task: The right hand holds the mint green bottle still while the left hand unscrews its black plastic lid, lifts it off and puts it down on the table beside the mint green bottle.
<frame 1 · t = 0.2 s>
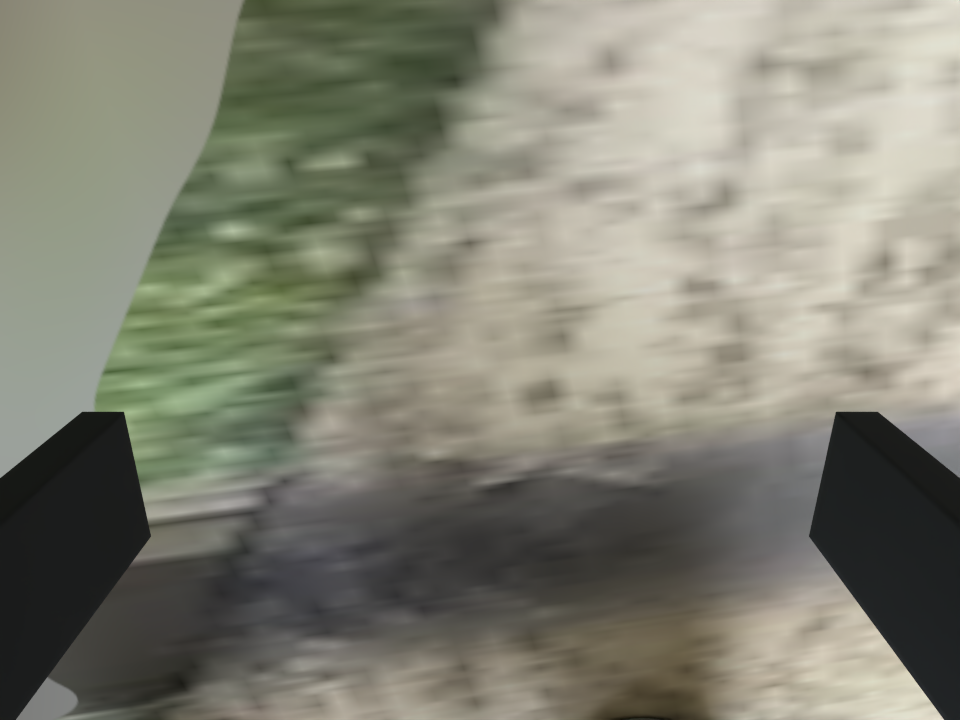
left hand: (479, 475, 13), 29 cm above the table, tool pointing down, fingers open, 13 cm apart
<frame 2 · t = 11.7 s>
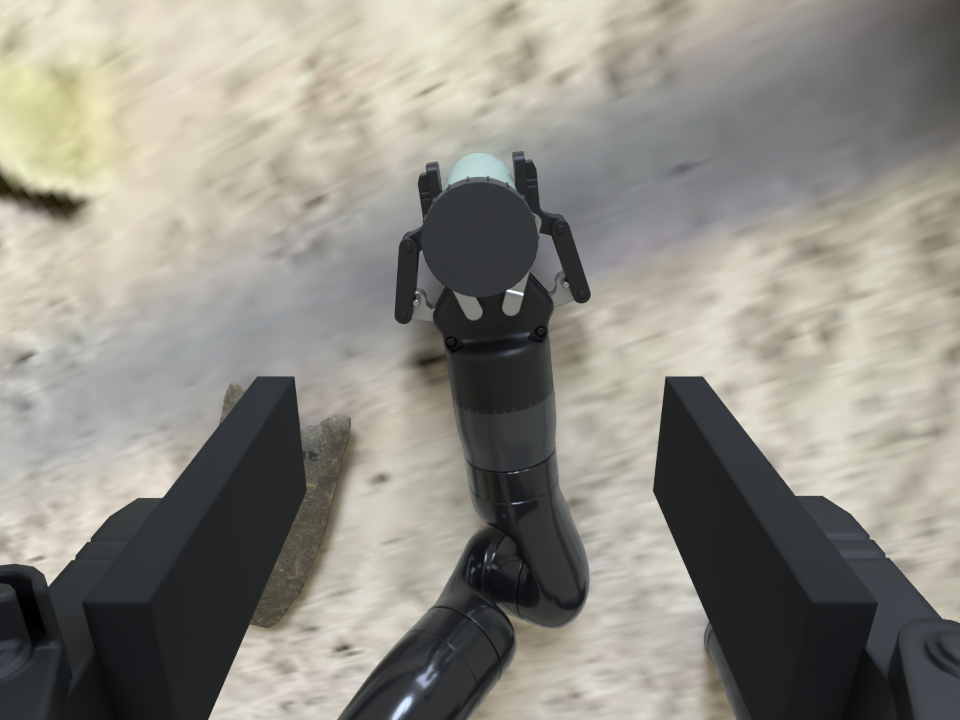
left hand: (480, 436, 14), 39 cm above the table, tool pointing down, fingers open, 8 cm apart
right hand: (474, 159, 44), fingers closed on mint green bottle, 5 cm apart
mint green bottle: (479, 187, 51), on the table, touching right hand
stone tool: (269, 510, 61), on the table
lid: (479, 239, 33), point 19 cm above the table, screwed on, not yet turned
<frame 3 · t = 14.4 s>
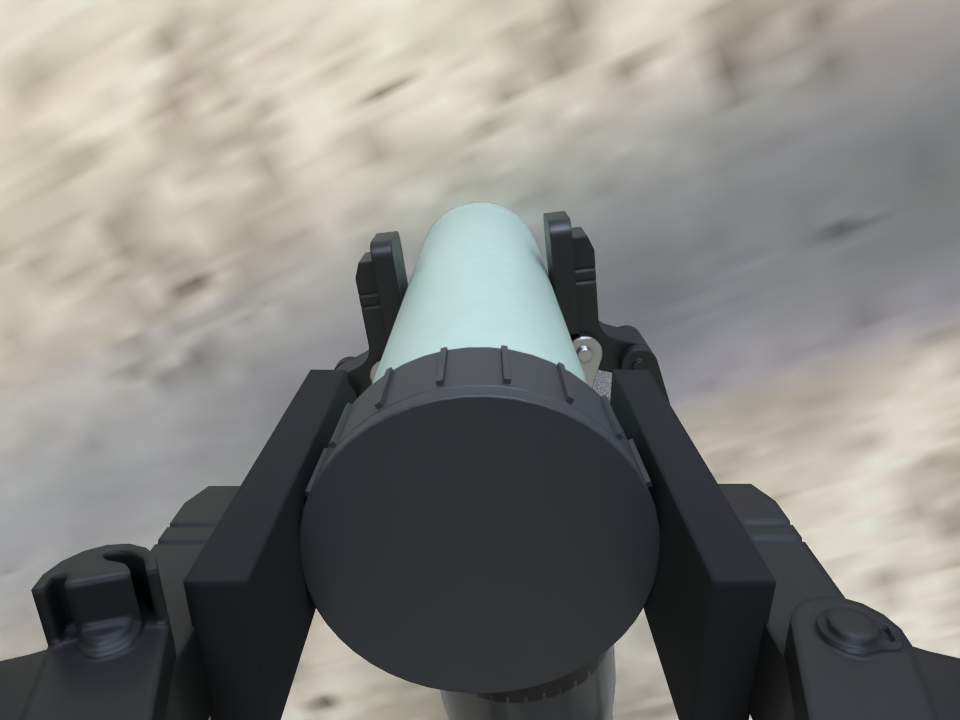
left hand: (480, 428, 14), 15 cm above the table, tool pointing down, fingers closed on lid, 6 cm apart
mint green bottle: (480, 261, 29), on the table, touching right hand
lid: (479, 545, 11), point 19 cm above the table, screwed on, not yet turned, touching left hand
when the left hand's fingers open (15 cm above the table, at t = 15.8 s): lid stays where it is, point 19 cm above the table.
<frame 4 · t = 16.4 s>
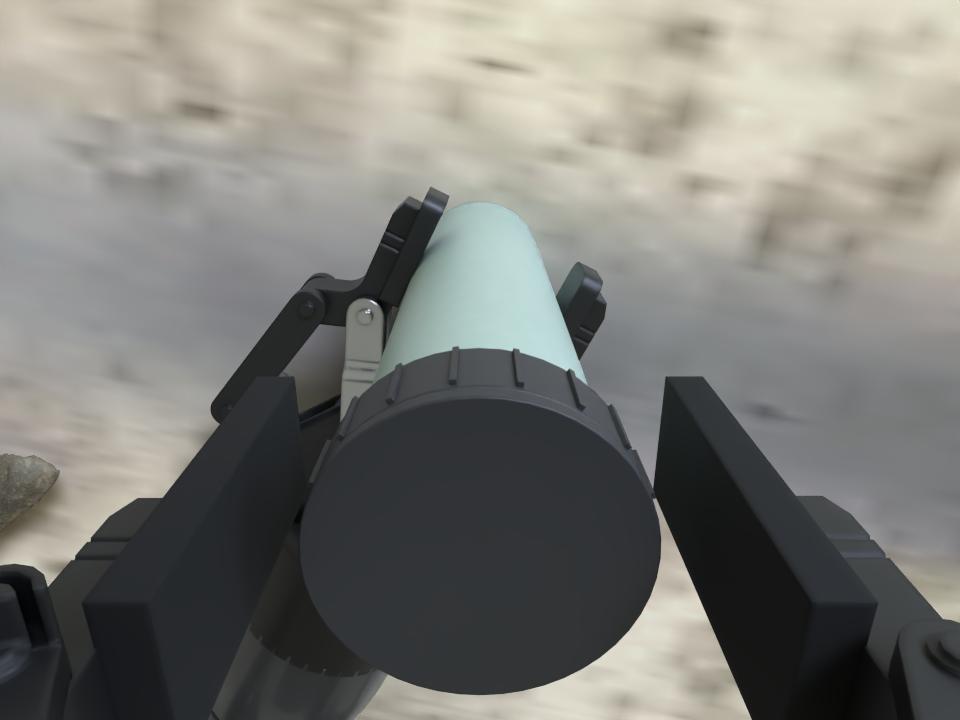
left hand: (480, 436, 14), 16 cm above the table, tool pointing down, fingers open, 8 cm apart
mint green bottle: (479, 260, 29), on the table, touching right hand
lid: (479, 547, 11), point 19 cm above the table, turned 90° so far, risen 0.2 cm, still on its thread
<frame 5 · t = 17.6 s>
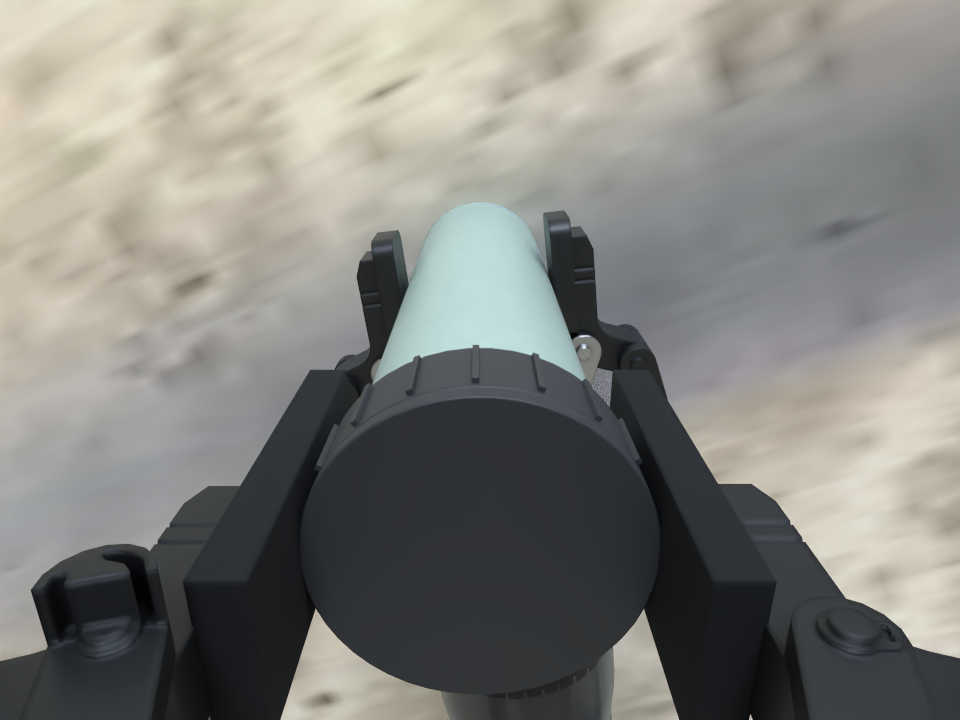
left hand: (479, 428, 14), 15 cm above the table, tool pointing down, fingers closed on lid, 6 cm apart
mint green bottle: (480, 260, 29), on the table, touching right hand
lid: (479, 546, 11), point 19 cm above the table, turned 90° so far, risen 0.2 cm, still on its thread, touching left hand
when the left hand's fingers open (0 cm above the table, at t = 28.4 s): lid drops 3 cm, point 2 cm above the table.
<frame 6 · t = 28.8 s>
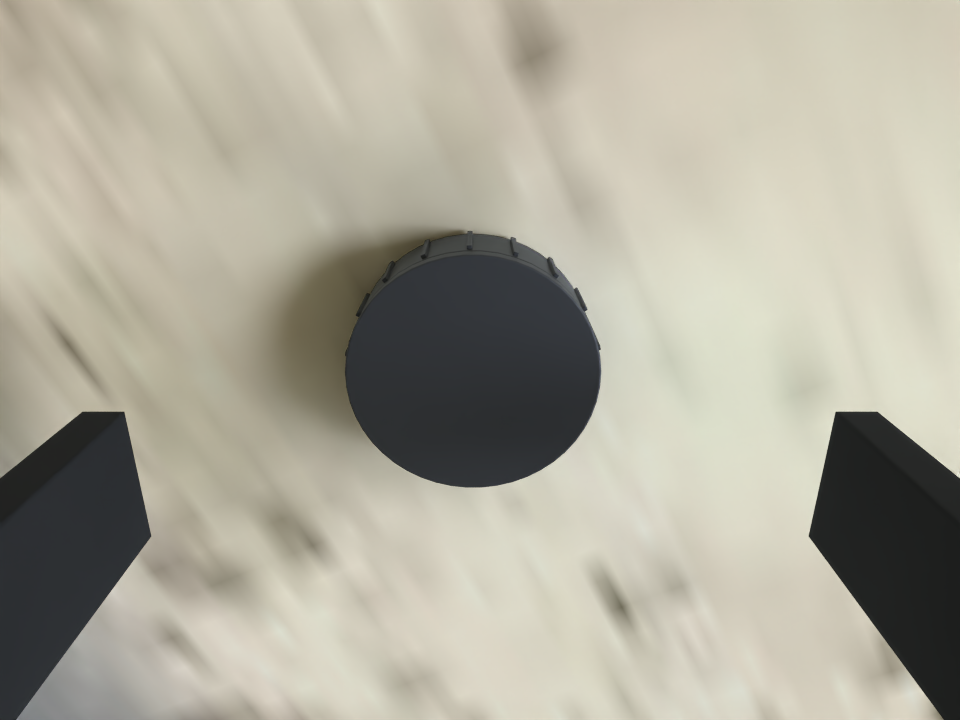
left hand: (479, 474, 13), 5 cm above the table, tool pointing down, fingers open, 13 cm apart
lid: (473, 373, 15), point 2 cm above the table, off its thread
when the right hand's fingers open (6 cm above the table, at t = 29.1 s): mint green bottle stays where it is, on the table.
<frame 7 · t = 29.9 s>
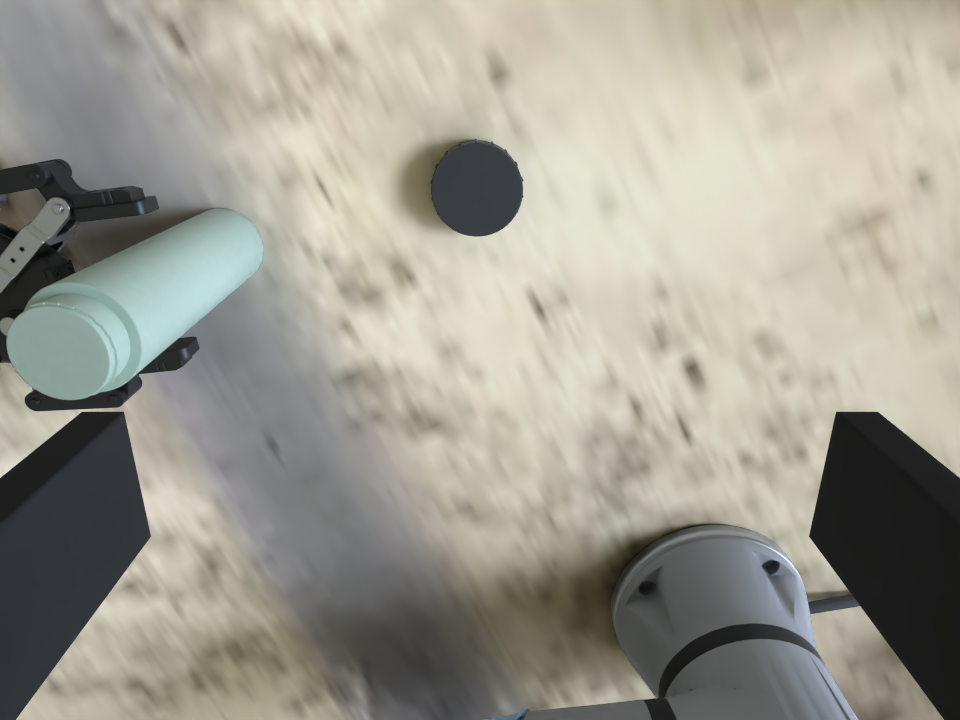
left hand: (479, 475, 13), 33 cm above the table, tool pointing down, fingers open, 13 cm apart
mint green bottle: (225, 246, 44), on the table
lid: (477, 190, 42), point 2 cm above the table, off its thread
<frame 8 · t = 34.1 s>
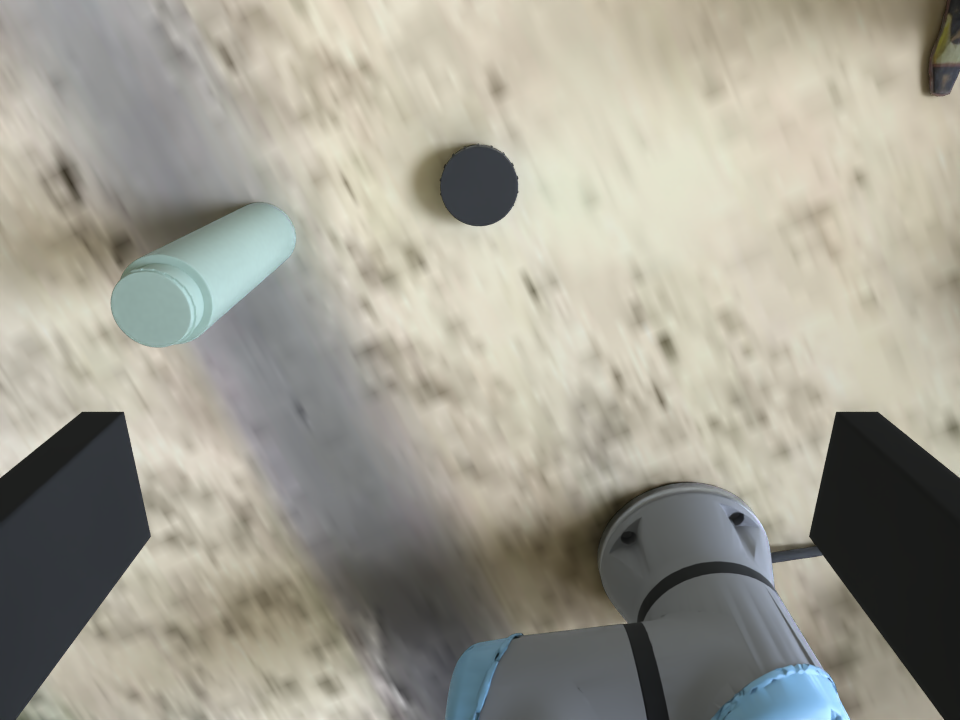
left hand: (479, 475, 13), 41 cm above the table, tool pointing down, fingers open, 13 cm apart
mint green bottle: (263, 235, 52), on the table
lid: (479, 186, 49), point 2 cm above the table, off its thread
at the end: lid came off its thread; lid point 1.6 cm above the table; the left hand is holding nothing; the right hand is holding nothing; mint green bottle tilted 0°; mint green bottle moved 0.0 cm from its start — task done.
